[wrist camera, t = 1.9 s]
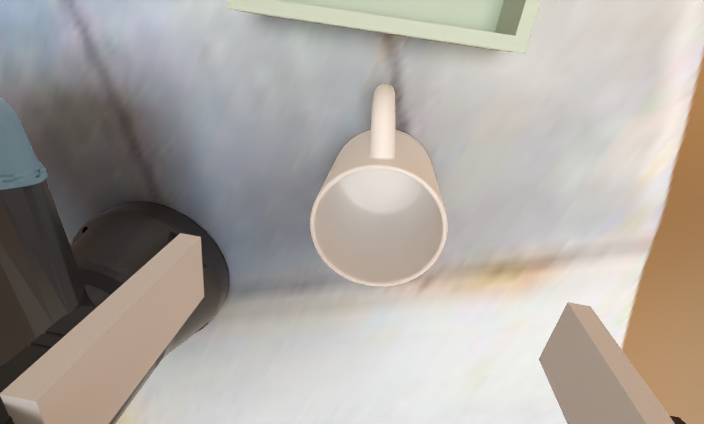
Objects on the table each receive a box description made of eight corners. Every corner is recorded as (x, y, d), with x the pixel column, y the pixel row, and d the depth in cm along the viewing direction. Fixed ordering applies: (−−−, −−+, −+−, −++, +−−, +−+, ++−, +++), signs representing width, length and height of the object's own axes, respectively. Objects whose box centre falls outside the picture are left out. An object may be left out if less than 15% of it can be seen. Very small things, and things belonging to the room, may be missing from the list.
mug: (334, 74, 28) (304, 91, 19) (443, 77, 27) (468, 97, 18) (334, 214, 33) (311, 282, 24) (426, 220, 32) (438, 292, 23)
